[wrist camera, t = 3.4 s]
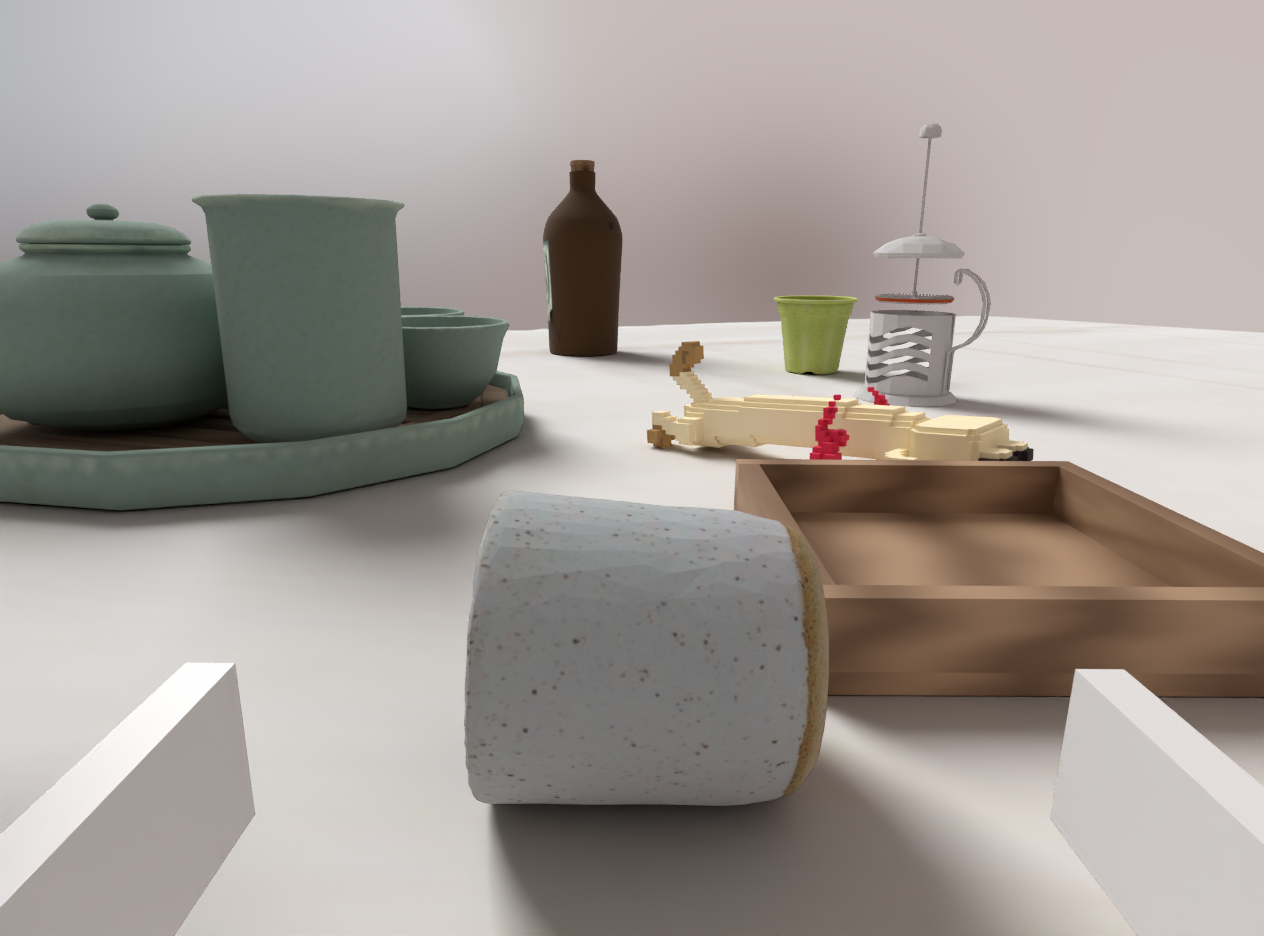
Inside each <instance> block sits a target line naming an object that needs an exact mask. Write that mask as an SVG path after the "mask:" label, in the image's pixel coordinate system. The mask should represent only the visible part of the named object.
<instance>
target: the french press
mask: <svg viewBox="0 0 1264 936" xmlns="http://www.w3.org/2000/svg"><path fill="white" fill-rule="evenodd" d="M941 132H942V130H941V127H940V126H939V125H938V124H933V123H930V124H926V125H925V126H924V127H923V128H922V129H921V130H920V138H928V139H929V141H928V151H927V161H926V171H925V181H924V191H923V201H922V211H921V221H920V231H919V233H917V234H915V235H914V236H910V237H906V238H900V239H897V240H894V241H892V242H889V243H887V244H885V245H884V246H882V247H881V248H879V249H878V250H876V251H875V252H874V253H873V254H874V256H875V257H876V258H917V261H916V271H915V282H914V291H912V295H910V294H909V295H907V294H905V295H904V294H902V295H901V294H878V295H876V297H875V298H876V300H877V301H879V302H885V303H899V304H947V303H951V302H952V301H953V300H954V297H952V296H949V295H945V296H944V295H943V296H944V297H943V296H942V295H938V297H937V295H936V296H934V295H933V296H931V295H929V296H927V295H926V296H924V294H923V296H921V294H920V295H919V296H918V295H917V291H916V285H917V274H918V265H919V258H962V257H963V255H964V252H963V251H962V250H961V249H960V248H958V247H957V246H956V245H955V244H952V243H949V242H946V241H943V240H941V239H937V238H933V237H928V236H926V234H924V233H922V225H923V215H924V204H925V195H926V185H927V175H928V165H929V155H930V145H931V139H932V138H937V137H940V136H941ZM959 272H960V275H959V282H957V278H958V273H959ZM963 273H965V274H966V275H968V276H970V277H971V278H972V279H973V280H974V281H975V282H976V284H977V285H978V287H979V290H980V292H981V295H982V301H983V309H982V314H981V320H980V323H979V326H978V327H977V329H976V331H975V332H974V334H973V336H972V337H971V338H969V339H968V340H967V341H966V342H965V343H963V344H961V345H958V346H956V347H953V348H952V343H953V334H954V325H955V316H956V314H953V313H946V312H934V311H913V310H912V311H911V310H881V311H880V310H879V311H872V312H871V317H870V328H869V340H868V351H867V362H866V373H865V384H864V386H862V387H861V388H860V389H859V390H857V391H856V392H855V393H854V394H853V396H855V397H856V398H858V399H861V400H865V401H868V402H874V396H872V392H868V387H874V390H876V391H879V394H883V395H885V399H888V402H887V403H890V405H899V406H920V407H932V406H947V405H951V404H955V403H956V402H957V399H956V398H955V396H954V395H953V394H952V393H951V392H949V388H950V380H951V371H952V363H953V355H954V352H955V350H957V349H959V348H961V347H964V346H966V345H969V344H970V343H972V342H973V341H974V340H975V339H977V338H978V337H979V336H980V334H981V333H982V331H983V329H984V328H985V326H986V323H987V320H988V315H989V310H990V305H991V302H990V296H989V292H988V290H987V287H986V284H985V282H984V281H983V280H982V279H981V278H980V277H979V276H978V275H976V274H975V273H973V272H972V271H970V270H969V269H958V270H957V271H956V272H955V277H954V283H955V284H956V285H959V284H960V283H961V282H962V277H963ZM973 275H974V276H975V277H976V278H977V279H978V280H979V281H978V280H977V279H976V278H975V277H974V276H973ZM979 282H980V283H981V284H982V285H983V288H984V290H985V292H986V297H987V311H986V318H985V320H984V317H985V308H986V299H985V294H984V291H983V289H982V286H981V284H980V283H979ZM983 320H984V323H983ZM982 323H983V325H982ZM981 325H982V327H981ZM912 327H913V328H918V329H923V330H921V331H919V332H916V333H913V334H906V335H899V336H894V337H892V338H890V339H887V338H883V335H884V334H886V333H888V332H889V333H895V332H900V331H905V330H907V329H910V328H912ZM980 328H981V329H980ZM977 333H978V334H977ZM926 336H932V341H931V340H929V339H927V338H924V337H926ZM907 342H913V343H918V344H917V345H914V346H911V347H909V348H904V349H897V350H893V351H890V352H887V351H883V350H882V349H883V348H885V347H887V346H895V345H901V344H904V343H907ZM930 348H931V353H930V354H928V353H925V352H923V351H919V350H924V349H930ZM906 355H908V356H912V357H915V358H912V359H909V360H907V361H904V362H900V363H893V364H890V365H888V364H883V363H881V362H883V361H885V360H888V359H892V358H898V357H902V356H906ZM918 362H929V367H924V366H922V365H919V364H916V363H918ZM903 369H907V370H912V371H909V372H907V373H904V374H901V375H896V376H891V377H885V376H881V375H883V374H885V373H888V372H891V371H895V370H903Z"/></svg>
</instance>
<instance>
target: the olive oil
mask: <svg viewBox="0 0 1264 936" xmlns="http://www.w3.org/2000/svg"><path fill="white" fill-rule="evenodd" d="M570 166H571V172H570V192H569V193H568V195H567V196H566V197H565V198H564V200H563V201H562V202H561V203H560V204H559V205H558V206H557V208H556V209H555V210H554V211H553V212H552V214H551V215H550V216H549V218H548V220H547V222H546V225H545V229H544V235H543V248H544V262H545V276H546V292H547V308H548V323H549V347H550V352H551V353H554V354H558V355H567V356H601V355H610V354H614V353H616V352H617V341H618V310H619V290H620V272H621V256H622V233H621V229H620V225H619V222H618V220H617V218H616V217H615V215H614V214H613V213H612V211H611V210H610V209H609V208H608V207H607V206H606V204H605V203H604V202H603V201H602V200H601V199H600V197H599V196H598V195H597V193H596V191H595V173H594V161H590V160H574V161H571V162H570Z"/></svg>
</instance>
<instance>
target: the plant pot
mask: <svg viewBox="0 0 1264 936" xmlns="http://www.w3.org/2000/svg"><path fill="white" fill-rule="evenodd" d="M774 299H775V301H777V303H778V311H779V314H780V315H781V323H782V335H783V346H784V359H785V369H786V370H787V371H788V372H794V373H796V374H802V373H805V372H813V373H814V374H818V375H823V374H832V373H835V372H836V371H837V369H838V367H839V362H840V357H841V352H842V347H843V342H844V337H845V333H846V328H847V323H848V319H849V316H850V315H851V313H852V309H853V304H854V302H857V298H854V297H841V296H781V297H775V298H774Z"/></svg>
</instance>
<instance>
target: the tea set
mask: <svg viewBox="0 0 1264 936" xmlns="http://www.w3.org/2000/svg"><path fill="white" fill-rule="evenodd" d="M192 201H193V202H194V203H196V204H198V205H199V206H201V207H202V209H203V211H204V213H205V216H206V224H207V232H208V240H209V249H210V257H211V263H209V262H206V261H203V260H200V259H197V258H194V257H191V256H188V255H187V253H188V252H189V251H190V250H191V248H190V246H185V245H190V244H191V240H190V239H189V238H188V237H187V236H186V235H185V234H184V233H182V232H180V231H178V230H176V229H175V228H171V227H167V226H164V225H160V224H156V223H145V222H131V221H114V220H113V219H115V218H117V217H118V215H119V212H118V210H117V209H116V208H114V207H112V206H111V205H107V204H94V205H92V206H90V207H88V208H87V214H88V216H89V217H91V218H94V219H95V220H63V221H47V222H42V223H37V224H33V225H30V226H29V227H27V228H25V229H23V230H22V231H21V232H20V233H19V234H18V236H17V237H16V241H17V242H18V243H29V244H20V245H19V249H21V250H22V251H24V252H25V254H24V255H22V256H19V257H16V258H12V259H9V260H7V261H5V262H3V263H1V264H0V501H2V502H15V503H29V504H42V505H55V506H68V507H81V508H94V509H107V510H121V511H124V510H138V509H151V508H165V507H179V506H193V505H207V504H220V503H234V502H248V501H262V500H275V499H289V498H303V497H311V496H316V495H321V494H326V493H331V492H336V491H341V490H345V489H350V488H355V487H360V486H365V485H370V484H375V483H380V482H385V481H390V480H394V479H399V478H404V477H409V476H414V475H419V474H424V473H429V472H434V471H439V470H443V469H448V468H452V467H455V466H457V465H459V464H461V463H463V462H465V461H467V460H469V459H471V458H473V457H475V456H477V455H479V454H481V453H484V452H486V451H488V450H490V449H492V448H494V447H496V446H498V445H500V444H502V443H504V442H506V441H508V440H510V439H512V438H515V437H517V436H518V434H519V432H520V429H521V427H522V424H523V422H524V398H523V395H522V391H521V388H520V384H519V381H518V378H517V376H515V375H511V374H507V373H503V372H499V371H497V366H498V361H499V356H500V351H501V346H502V341H503V338H504V336H505V333H506V331H507V329H508V327H509V324H508V321H507V320H505V319H499V318H491V317H478V316H463V315H464V311H463V310H461V309H453V308H439V307H401V303H400V288H399V272H398V255H397V242H396V224H395V217H396V214H397V212H398V211H399V210H400V209H402V208H403V207H404V204H403V203H399V202H393V201H388V200H375V199H363V198H350V197H329V196H305V195H264V194H262V195H261V194H225V195H201V196H197V197H193V198H192Z"/></svg>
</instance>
